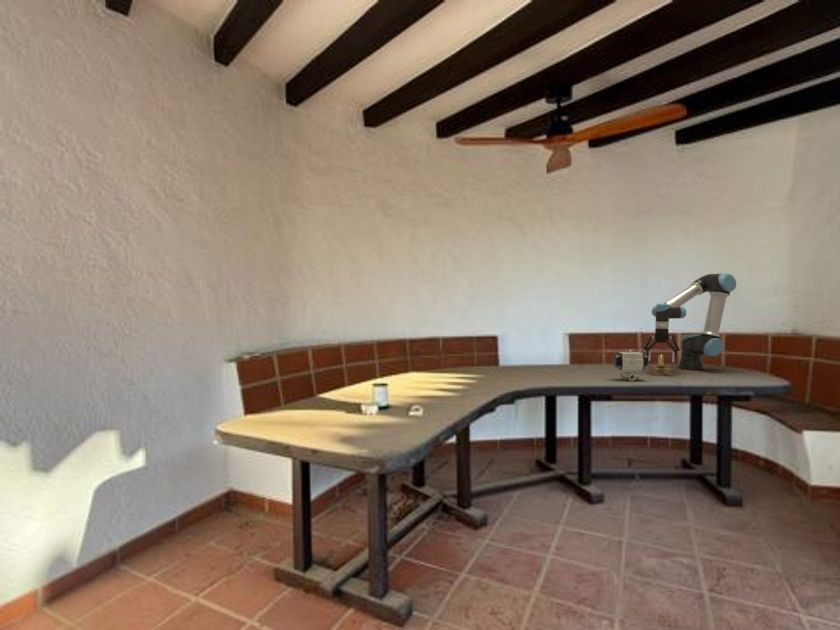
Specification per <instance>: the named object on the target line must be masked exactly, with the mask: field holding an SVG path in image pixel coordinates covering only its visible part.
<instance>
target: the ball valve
mask: <svg viewBox="0 0 840 630" xmlns="http://www.w3.org/2000/svg"><path fill="white" fill-rule="evenodd" d="M648 359H649V356H647V354H645V353H643V352H640V351H633V350H632V349H629V350H628V351H616V353H615V354H614V355H613V356H612V364H613V366H614V367H615V368H616V369H618V370H620V371H621V370H623V372H621V373H620V378H621V379H622V380H625V381H631V382H632V381H636V380H639V379H640V373H638V372H636V371H645V368H647V366H648V364H649V361H648Z"/></svg>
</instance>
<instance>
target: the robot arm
mask: <svg viewBox="0 0 840 630" xmlns="http://www.w3.org/2000/svg"><path fill="white" fill-rule="evenodd" d="M736 288H737V281H736V278H735V277H734V275H732V273H724V272H721V273H708V274H705V275H703V276H701V277H698V278H697V279H695V280H694V281H692V282H691V283H690V285H689V286H687V287H686V288H685V289H683V290H682V291H680V292H679V293H677V294H676V295H674V296H673V297H671V298H670V299H668V300H667V301H665V302H664V303H656V304H655V306H653V307H652V309H651V315H652V316H653V317H655V324H654V325H655V330H654V335H651V334H650V335H649V336H648V337H649V338H648V340H647V342H646V343H645V345H644V347H643V349H644V350H645V351H646V356H647V357H648V362H651V349H652V348H653V347H654V346H655V345H656V344H657V343H659V344H661V343H662V344H667V345H668V346H669V347H670V348H671V350H672V356H671V357H672V359H671V360H672V363H675V358H676V357H677V352H680V351H681V353H680V354H681V355H680V359H679V361H678V364H677V368H678V367H680V368H679V369H682V368H685V369H684V370H689V369H696V370H695V371H700V370H699V369H703V370H704V369H705V367H704V363H703V360H702V356H708V357H716V356H718V355H720V354H721V353H722V351H723V349H724V342H723V340H722V339H721V338H722V336H721V335H720V330H721V325H722V324H721V323H722V319H723V315H724V310H725V305H726V301H727V298H728V297H729V296H730V295H731V292H733V291H734V290H736ZM704 293H709V296H710V299H709V303H708V307H707V313H706V316H705V323H704V327H703V331H702V332H700V333H699V334H696V333H695V334H684V335H682V337H681V341H680V342H681V344H680V345H681V349H680V348H679V346H678V344H677V342H676V340H675V336H674V335H671V336H670V335H669V334H670V333H669V327H670V326H669V325H670V323H669V321H670V320H671V319H675V320H676V319H678V320H679V319H684V318H686V316H687V309H686V308H685V307H683V305H685V304H686V303H687V302H689V301H690V300H692V299H694V298H695V297H696V296H698V295H699V296H701V295H702V294H704ZM653 339H654V341H653V342H652V343H651V341H652V340H653ZM669 339H670V340H671V341H672V343H673V345H674V346H673V345H672V344H671V343H670V342H669ZM650 343H651V344H650Z"/></svg>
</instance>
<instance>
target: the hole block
mask: <svg viewBox="0 0 840 630" xmlns="http://www.w3.org/2000/svg"><path fill="white" fill-rule="evenodd" d="M648 370H649V373H650V375H651V376H663V377H664V376H665V377H674V369H673V368H672V367H671V365H664V368H658V364H656V365H655V364H649V369H648Z"/></svg>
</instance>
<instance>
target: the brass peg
mask: <svg viewBox="0 0 840 630" xmlns="http://www.w3.org/2000/svg"><path fill="white" fill-rule="evenodd" d="M664 362H665V354H661V353H660V354H658V355H657V365H658V368H664V366H665V365H664V364H665V363H664Z"/></svg>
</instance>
